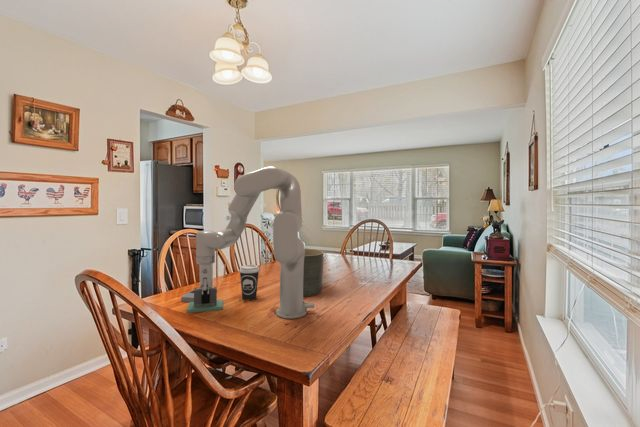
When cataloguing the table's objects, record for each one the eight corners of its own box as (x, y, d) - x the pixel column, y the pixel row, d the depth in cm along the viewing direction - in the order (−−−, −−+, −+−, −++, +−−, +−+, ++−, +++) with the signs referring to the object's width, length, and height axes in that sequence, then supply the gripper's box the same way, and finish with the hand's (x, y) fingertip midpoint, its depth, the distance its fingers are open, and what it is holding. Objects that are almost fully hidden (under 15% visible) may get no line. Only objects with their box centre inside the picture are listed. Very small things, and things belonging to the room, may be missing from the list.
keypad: (181, 294, 137) (199, 285, 152) (181, 302, 137) (199, 292, 152) (200, 295, 136) (217, 286, 150) (200, 303, 136) (217, 293, 151)
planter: (319, 298, 144) (319, 256, 143) (274, 295, 148) (274, 254, 147) (325, 285, 166) (326, 249, 165) (286, 283, 169) (287, 248, 169)
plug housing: (216, 299, 133) (216, 286, 133) (216, 302, 130) (216, 288, 129) (194, 301, 131) (194, 287, 130) (193, 304, 127) (193, 290, 127)
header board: (222, 302, 137) (222, 291, 137) (222, 309, 128) (222, 298, 128) (189, 304, 133) (189, 294, 133) (186, 312, 123) (186, 301, 123)
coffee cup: (263, 297, 144) (263, 266, 143) (246, 302, 137) (246, 269, 136) (252, 293, 150) (252, 263, 150) (235, 297, 144) (235, 266, 143)
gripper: (214, 262, 123) (214, 307, 123) (215, 255, 139) (215, 295, 139) (194, 263, 120) (194, 309, 121) (197, 256, 136) (198, 296, 137)
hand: (205, 301), depth 130 cm, fingers closed on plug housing, 4 cm apart
